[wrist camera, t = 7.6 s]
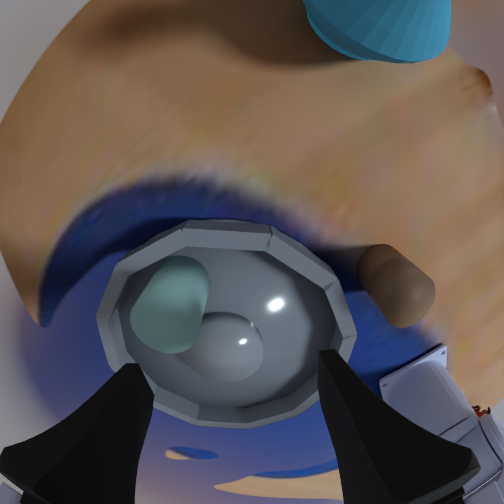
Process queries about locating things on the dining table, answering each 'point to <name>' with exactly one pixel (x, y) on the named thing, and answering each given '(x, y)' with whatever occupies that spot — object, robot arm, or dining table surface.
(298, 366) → the tray
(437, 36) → the perfume bottle
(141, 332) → the bead teal
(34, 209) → the dining table surface
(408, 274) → the bead walnut
